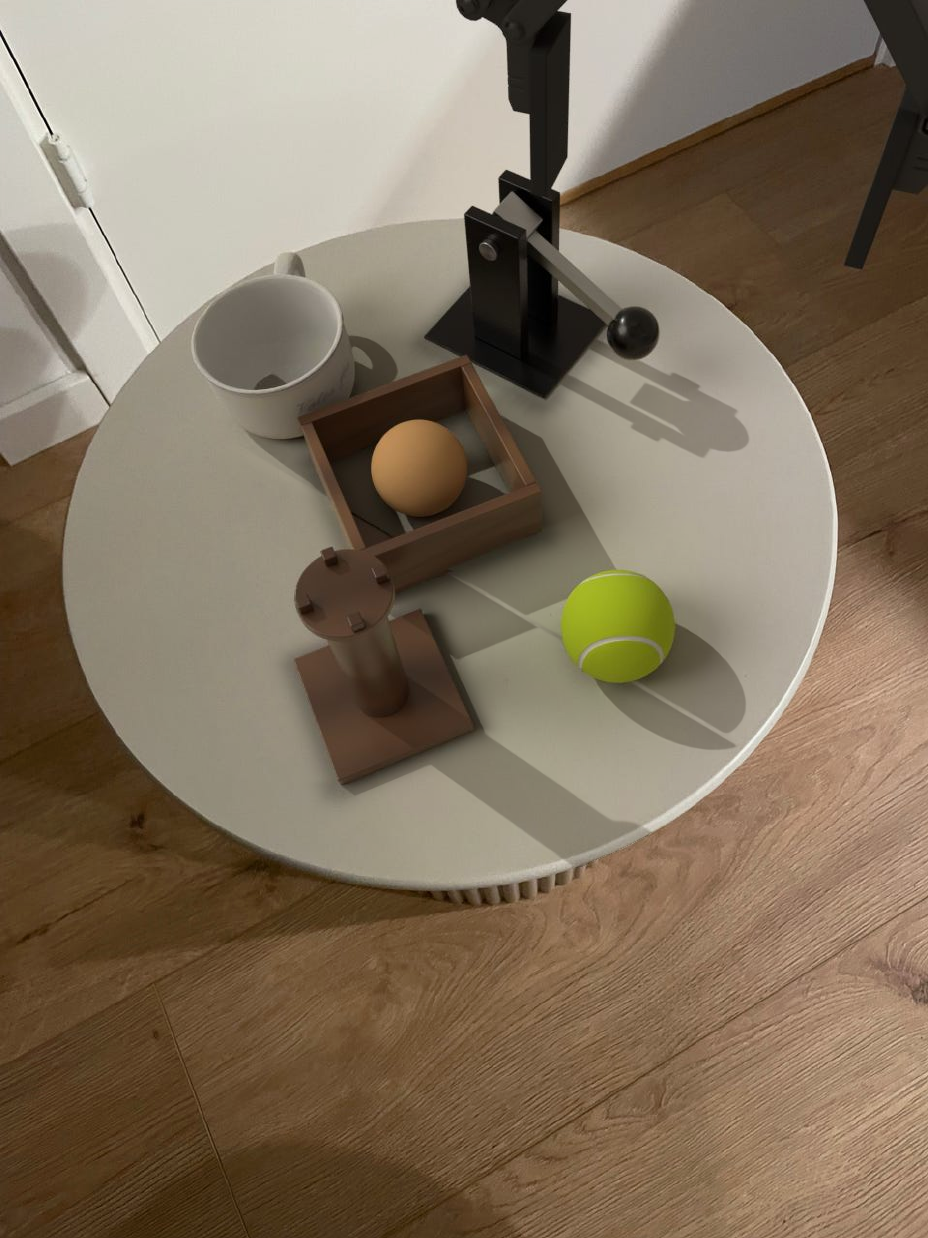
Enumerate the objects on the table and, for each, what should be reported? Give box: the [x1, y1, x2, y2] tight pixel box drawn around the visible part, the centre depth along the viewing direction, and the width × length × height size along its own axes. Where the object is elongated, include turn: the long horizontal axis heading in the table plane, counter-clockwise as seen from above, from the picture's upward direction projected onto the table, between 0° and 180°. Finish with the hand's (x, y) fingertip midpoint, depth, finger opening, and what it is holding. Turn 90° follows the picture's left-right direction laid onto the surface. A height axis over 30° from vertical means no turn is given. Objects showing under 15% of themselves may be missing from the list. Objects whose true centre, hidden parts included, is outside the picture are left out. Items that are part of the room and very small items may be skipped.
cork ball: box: [370, 420, 468, 518], centre depth 67 cm, size 6×6×6 cm
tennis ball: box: [560, 569, 676, 684], centre depth 62 cm, size 7×7×7 cm
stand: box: [293, 546, 475, 786], centre depth 58 cm, size 9×9×15 cm
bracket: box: [423, 169, 607, 400], centre depth 72 cm, size 11×9×13 cm
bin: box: [297, 355, 543, 595], centre depth 69 cm, size 13×13×6 cm
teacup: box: [190, 251, 356, 440], centre depth 73 cm, size 14×11×8 cm
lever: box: [491, 191, 661, 362], centre depth 68 cm, size 14×4×4 cm, turn 54°
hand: (698, 209), depth 43 cm, fingers open, 13 cm apart
